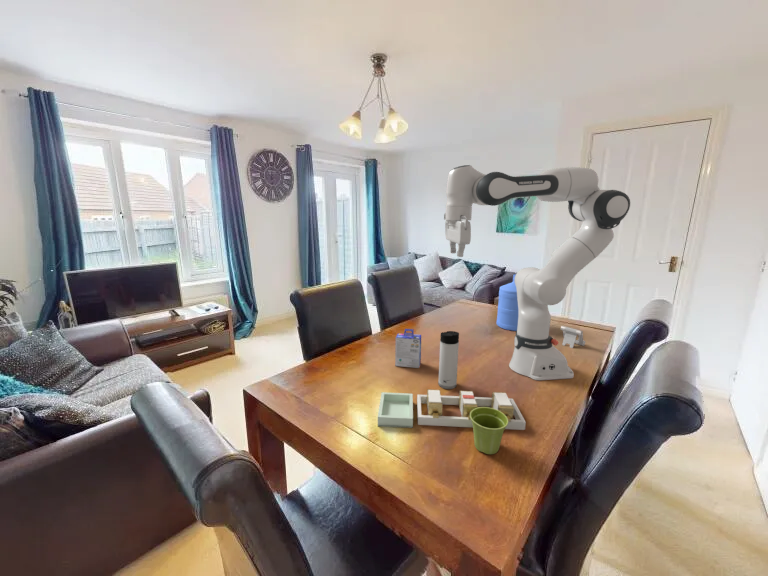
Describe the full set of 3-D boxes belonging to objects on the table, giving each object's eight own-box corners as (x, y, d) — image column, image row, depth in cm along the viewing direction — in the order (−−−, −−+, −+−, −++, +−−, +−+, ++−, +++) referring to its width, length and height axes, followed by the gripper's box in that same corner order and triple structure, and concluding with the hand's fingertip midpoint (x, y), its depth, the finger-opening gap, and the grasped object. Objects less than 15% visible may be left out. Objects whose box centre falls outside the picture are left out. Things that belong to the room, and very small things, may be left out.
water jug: (532, 331, 166) (538, 277, 160) (501, 331, 167) (506, 277, 160) (520, 321, 182) (525, 272, 175) (492, 321, 182) (496, 272, 175)
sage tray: (412, 401, 105) (412, 393, 104) (412, 428, 92) (412, 418, 92) (381, 400, 106) (381, 392, 105) (377, 426, 93) (377, 417, 92)
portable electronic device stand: (584, 345, 149) (587, 328, 147) (577, 349, 145) (579, 332, 143) (565, 339, 156) (567, 323, 154) (557, 343, 151) (559, 326, 149)
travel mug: (446, 391, 111) (449, 336, 106) (434, 382, 117) (436, 330, 112) (460, 387, 114) (463, 333, 109) (448, 378, 119) (451, 327, 115)
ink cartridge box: (421, 362, 133) (422, 328, 129) (419, 368, 127) (420, 333, 124) (397, 360, 134) (397, 327, 131) (394, 366, 129) (395, 332, 126)
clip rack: (512, 405, 103) (513, 396, 102) (525, 430, 91) (526, 419, 91) (417, 401, 105) (417, 392, 105) (417, 424, 94) (418, 414, 93)
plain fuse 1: (439, 405, 103) (439, 388, 102) (441, 422, 95) (442, 404, 94) (426, 405, 103) (427, 388, 102) (428, 421, 95) (428, 403, 94)
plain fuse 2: (503, 408, 102) (505, 391, 100) (511, 425, 93) (513, 407, 92) (491, 408, 102) (492, 390, 100) (498, 425, 94) (499, 406, 92)
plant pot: (461, 437, 89) (463, 409, 87) (492, 432, 91) (495, 404, 89) (478, 462, 80) (481, 431, 78) (512, 456, 82) (516, 426, 80)
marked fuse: (471, 407, 102) (472, 389, 101) (476, 424, 94) (477, 404, 93) (458, 406, 103) (459, 388, 101) (462, 423, 94) (464, 404, 93)
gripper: (477, 215, 103) (474, 259, 106) (459, 214, 123) (457, 251, 126) (457, 215, 103) (455, 259, 106) (442, 214, 122) (441, 251, 126)
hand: (456, 254), depth 116 cm, fingers open, 8 cm apart
